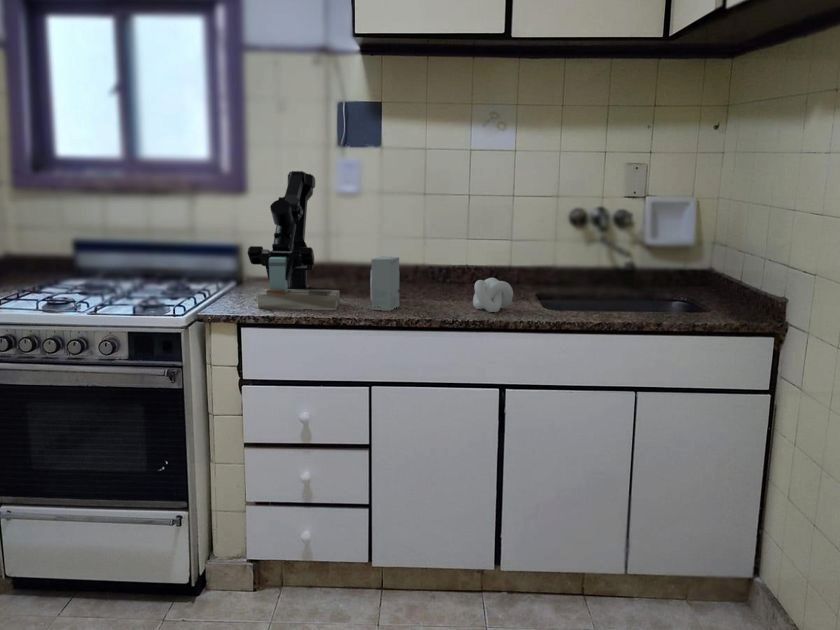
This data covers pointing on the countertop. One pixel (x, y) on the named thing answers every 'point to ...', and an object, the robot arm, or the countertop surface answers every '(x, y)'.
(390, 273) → the skincare box
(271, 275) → the teal lidded box
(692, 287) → the countertop surface
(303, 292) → the socket board
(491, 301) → the white knot
